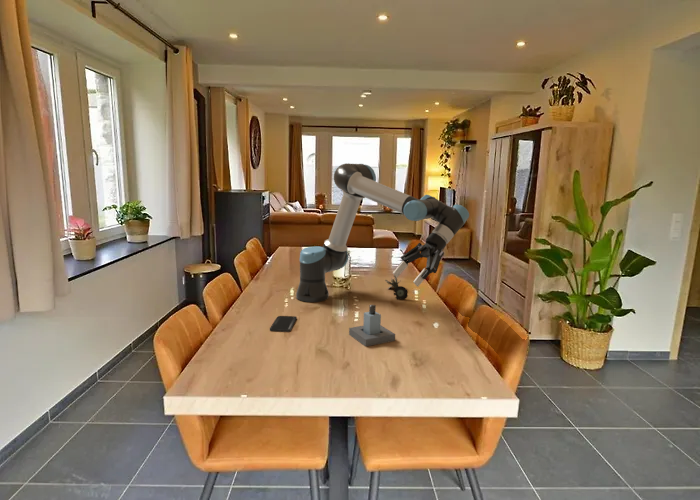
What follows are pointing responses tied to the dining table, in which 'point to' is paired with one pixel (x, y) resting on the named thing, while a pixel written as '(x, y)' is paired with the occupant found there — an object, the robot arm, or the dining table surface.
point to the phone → (283, 323)
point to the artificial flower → (398, 289)
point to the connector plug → (372, 321)
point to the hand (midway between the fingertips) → (404, 279)
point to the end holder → (371, 336)
